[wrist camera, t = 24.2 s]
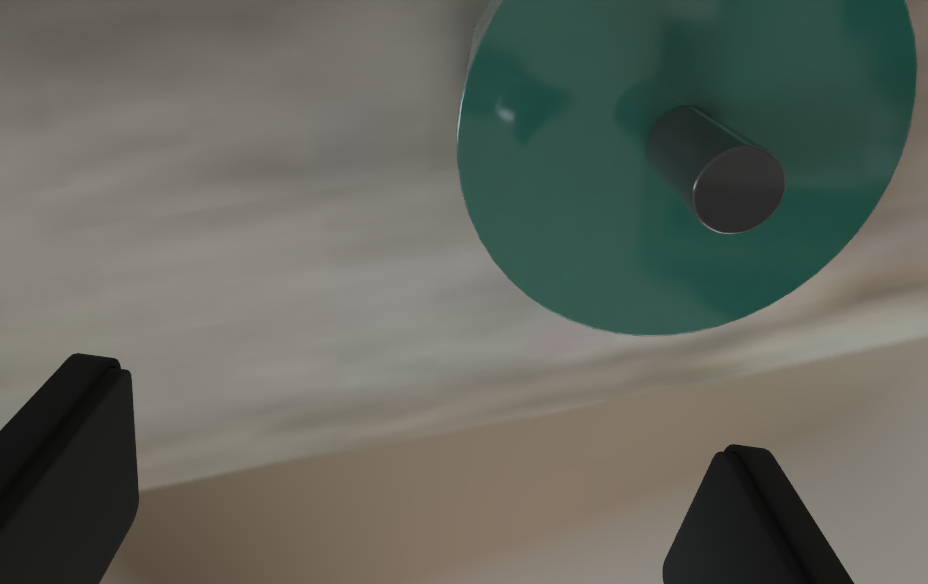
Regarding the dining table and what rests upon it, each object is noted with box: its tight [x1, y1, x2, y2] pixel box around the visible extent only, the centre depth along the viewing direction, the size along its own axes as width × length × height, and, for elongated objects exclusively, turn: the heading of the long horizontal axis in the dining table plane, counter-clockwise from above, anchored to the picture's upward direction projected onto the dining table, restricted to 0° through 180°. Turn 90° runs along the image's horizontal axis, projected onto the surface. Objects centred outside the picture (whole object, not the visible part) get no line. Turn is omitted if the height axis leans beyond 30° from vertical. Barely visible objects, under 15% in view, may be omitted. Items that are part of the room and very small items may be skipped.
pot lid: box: [457, 0, 917, 336], centre depth 21 cm, size 16×16×6 cm
